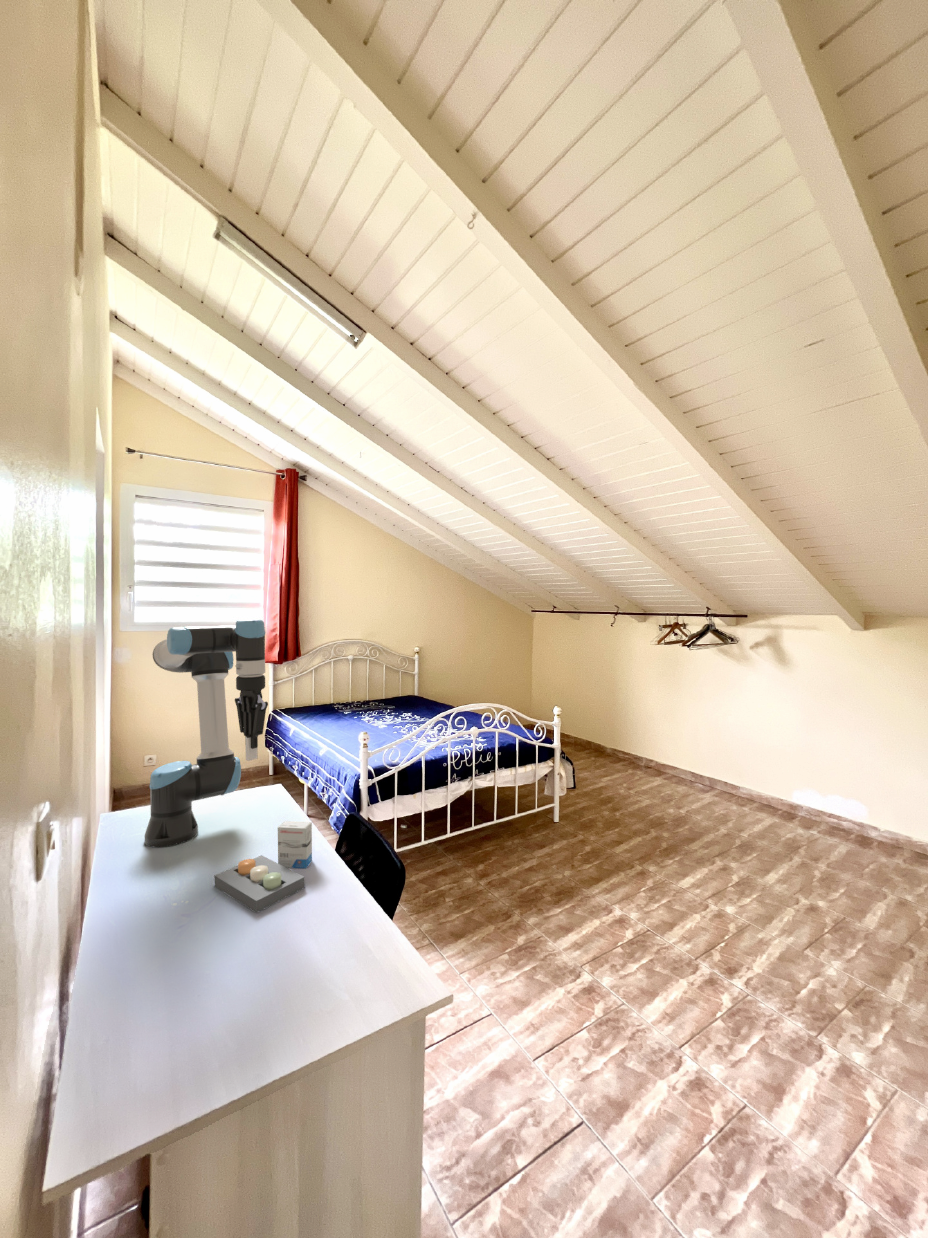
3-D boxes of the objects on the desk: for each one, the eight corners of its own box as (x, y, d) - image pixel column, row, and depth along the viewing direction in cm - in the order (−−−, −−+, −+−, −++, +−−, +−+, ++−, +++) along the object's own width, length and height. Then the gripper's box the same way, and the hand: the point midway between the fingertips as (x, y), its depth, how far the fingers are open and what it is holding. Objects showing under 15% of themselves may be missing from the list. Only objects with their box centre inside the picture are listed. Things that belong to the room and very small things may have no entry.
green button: (259, 892, 136) (259, 877, 136) (274, 885, 139) (274, 870, 139) (269, 898, 133) (269, 883, 133) (284, 890, 137) (284, 875, 136)
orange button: (234, 878, 143) (234, 863, 143) (249, 871, 146) (249, 857, 146) (243, 883, 140) (243, 868, 140) (258, 876, 144) (258, 862, 144)
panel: (214, 886, 140) (214, 875, 140) (261, 865, 151) (261, 855, 151) (256, 913, 128) (256, 901, 128) (304, 888, 139) (304, 877, 139)
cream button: (247, 885, 139) (246, 870, 139) (262, 878, 143) (261, 863, 143) (256, 890, 137) (256, 875, 137) (271, 883, 140) (271, 868, 140)
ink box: (312, 860, 154) (312, 821, 154) (306, 869, 149) (305, 828, 149) (285, 859, 155) (284, 820, 155) (277, 867, 150) (277, 827, 150)
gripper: (225, 674, 146) (226, 758, 147) (251, 678, 138) (252, 767, 139) (250, 671, 152) (251, 752, 153) (276, 675, 144) (277, 760, 145)
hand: (251, 759), depth 146 cm, fingers closed
